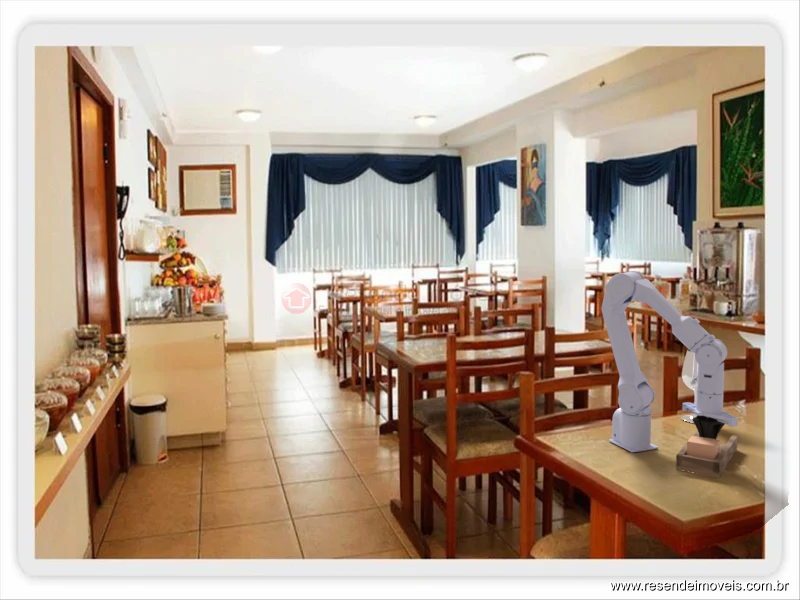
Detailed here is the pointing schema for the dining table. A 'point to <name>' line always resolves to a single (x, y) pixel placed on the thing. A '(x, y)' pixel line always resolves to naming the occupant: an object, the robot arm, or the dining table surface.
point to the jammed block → (703, 447)
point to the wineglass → (690, 378)
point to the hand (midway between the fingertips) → (707, 447)
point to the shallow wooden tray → (707, 465)
